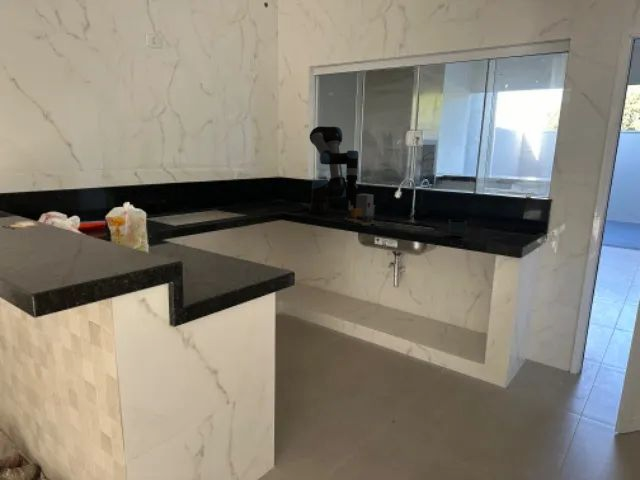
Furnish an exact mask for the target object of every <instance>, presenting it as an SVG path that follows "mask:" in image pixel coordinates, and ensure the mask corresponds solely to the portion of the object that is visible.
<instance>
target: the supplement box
mask: <svg viewBox="0 0 640 480" xmlns="http://www.w3.org/2000/svg"><path fill="white" fill-rule="evenodd" d="M355 208H360V209H362V216H361V217H363V218H364V216H368V215H369V216H372V217H373V213H374V212H373V211H374V194H373V193H372V194H371V193H357V196H356V200H355Z"/></svg>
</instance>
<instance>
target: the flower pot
mask: <svg viewBox="0 0 640 480" xmlns="http://www.w3.org/2000/svg"><path fill="white" fill-rule="evenodd" d="M467 225H468V222H467V221H466V220H464V219H448V231H449V233H451V234H454V235H463V236H464V235H465V232H466V229H467ZM451 234H450V235H451Z"/></svg>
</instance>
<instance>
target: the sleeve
mask: <svg viewBox="0 0 640 480" xmlns="http://www.w3.org/2000/svg"><path fill="white" fill-rule="evenodd" d="M350 214H351V215H352V218H355V219H356V218H357V216H359V217H362V209H360V208H356V207H355V208H354V207H353V209H351V210H350Z"/></svg>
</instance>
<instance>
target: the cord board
mask: <svg viewBox="0 0 640 480" xmlns="http://www.w3.org/2000/svg"><path fill="white" fill-rule="evenodd" d="M346 220H347V221H346ZM344 221H346V222H349V221H351V222H350V223H352V222H354V223H353V224H356V223H358V224H357V225H359V224H361V225H360V226H362V225H363V226H362V227H364V225H366V226H372V225H371V224H375V225H379V221H377V220H373V216H369V215H368V216H364V217H362V216H361V217H359V216H357V218H356V219H355V218H352V215H351V213H349V214H346V216H345V218H344Z"/></svg>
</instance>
